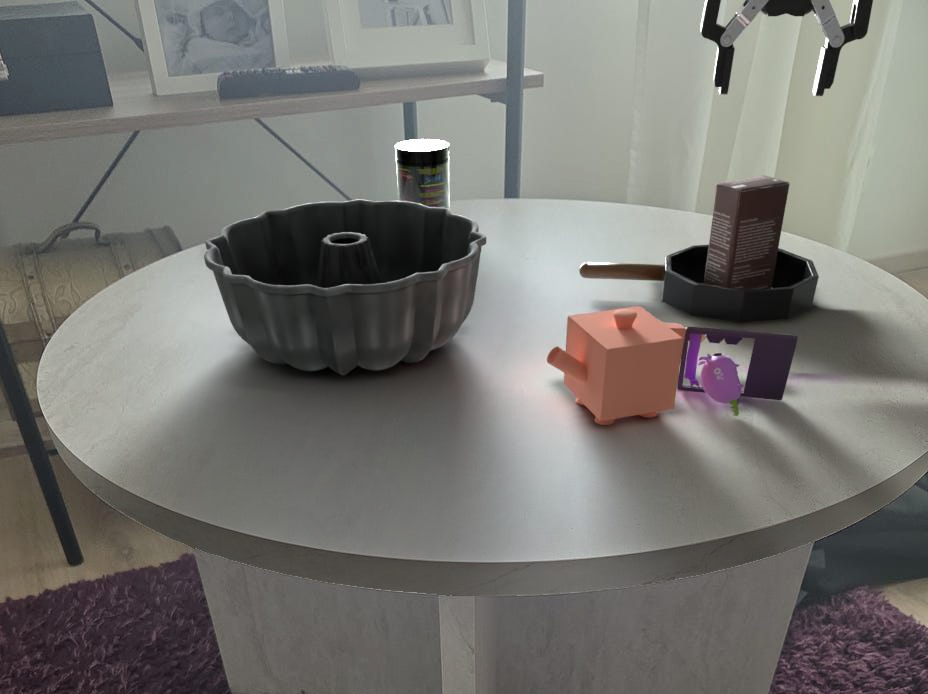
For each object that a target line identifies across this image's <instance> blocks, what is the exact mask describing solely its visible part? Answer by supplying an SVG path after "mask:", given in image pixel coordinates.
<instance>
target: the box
mask: <svg viewBox="0 0 928 694" xmlns="http://www.w3.org/2000/svg"><path fill="white" fill-rule="evenodd" d="M715 184H716V186H715V192H714V193H715V194H714V202H713V209H712V218H711V224H710V225H711V226H710V234H709V240H708V245H709V248H708V256H707V263H706V271H705V279H704V283H703V284H706V285H713V286H720V287H727V288H734V289H741V290H753V289H767V288H771V287H772V281H773V275H774V270H775V264H776V258H777V252H778V248H779V247H780V241H781V236H782V235H781V234H782V229H783V224H784V218H785V211H786V206H787V201H788V195H789V191H790V185H791V183H790V182H789V181H785V180H782V179H778V178H775V177H771V176H768V175H764V174H763V175H759V176H758V175H757V176H752V177H747V178H739V179H735V180H728V181H720V182H716V183H715Z"/></svg>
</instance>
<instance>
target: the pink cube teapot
mask: <svg viewBox="0 0 928 694" xmlns="http://www.w3.org/2000/svg"><path fill="white" fill-rule="evenodd" d="M685 333H686V326H684V325H682V324H681V323H679V322H663V321H661V320H659V319H658V318H657V317H656V316H655V315H653V314H652V313H650V312H649V311H647V310H646V309H644V308H643V307H642V306H640V305H637V306H630V307H623V308H614V309H608V310H599V311H594V312H586V313H580V314H571V315H568V316H567V320H566V339H565V350H564V349H562V348H561V347H560V346H554V347H553V348H552V349H551V350H550V351H549V353H548V354H547V357H546V361H547V364H549V365H550V366H552V367H553V368H556V369H557V370H559V371H560V372H563V384H564V386H565V387H566V388H567V389H568V390H569V391H570V392H571V393H572V394H573V395H574V396H575V397H576V399H575V403H576V404H578V405H581V406H585V408H587V409H588V410H589V411H590V412H591V413H592V414H593V415H594V417H595V418H594V422H595V424H597V425H602V426H609V425H612V424H614V423H615V420H616V419H622V418H628V417H633V416H640V417H643V418H647V419H648V418H654V417H657V416H658V412H664V411H670V410H674V407H675V401H676V395H677V386H678V378H679V370H680V363H681V356H682V350H683V344H684V339H685Z"/></svg>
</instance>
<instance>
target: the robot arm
mask: <svg viewBox="0 0 928 694" xmlns="http://www.w3.org/2000/svg"><path fill="white" fill-rule="evenodd" d="M721 3H722V0H704V4H703V5H704V6H703V11H702V16H701V21H700V28H699V30H700V34H701V36H702V38H704V39H707V40H709V41H711V42H714V43H715V44H716V45H717V49H716V57H715V65H714V69H713V78H712V80H713V84H714V87H715V88H718V94H719V95H724V96H725V95H728V93H729V89H730V82H731V74H732V69H733V61H734V56H735V50H736V48H735V46H734V43H735V41H736V40H737V39H738V38H739V37H740V35H741V34H742V33H743V31H744V30H745V29H746V28H747V27H748V26H749V25H750V24H751V23H752V22H753V20H754V19H755V18H756V17H757V16H758V14H759V13H762V15H763V14H764V15H765V16H766V17H779V16H782V15H790V16H792V17H805V16H806V15H807V14H810V13H811V12H812V13H813V15H814V17H815V21H817V23H818V25H819V27H820V29H821V31H822V34H823V36H824V39H825V42H824V45H821V48H820V53H819V57H818V62H817V68H816V72H815V76H814V81H813V87H812V95H813V96H814V97H823V96H824V93H825V90H829V89H831V88H832V85H833V84H834V81H835V77H836V72H837V67H838V63H839V59H840V54H841V51H842V49H843V47H844V46H845V45H846V44H848V43H851V42H853V41H857V40H862V39H864V38H865V37H866V36H867V34H868V31H869V25H870V19H871V14H872V10H873V3H874V0H853V1H852V6H851V12H850V19H849V23H847V24H845V25H842V26H841V25H840V23H839V20H838V18H837V16H836V13H835V10H834V8H833V6H832V3H831V2H830V0H744V1H743V2H742V3H741V4H740V6H739V7H738V8H737V10H736V11H735V13H734V15H732V17H731V18H730V19H729V20H728V21H727V23H726V24H725V25H724V26H723V25H721V24H719V23H717V22H718V17H719V14H720V13H719V12H720V7H721Z"/></svg>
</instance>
